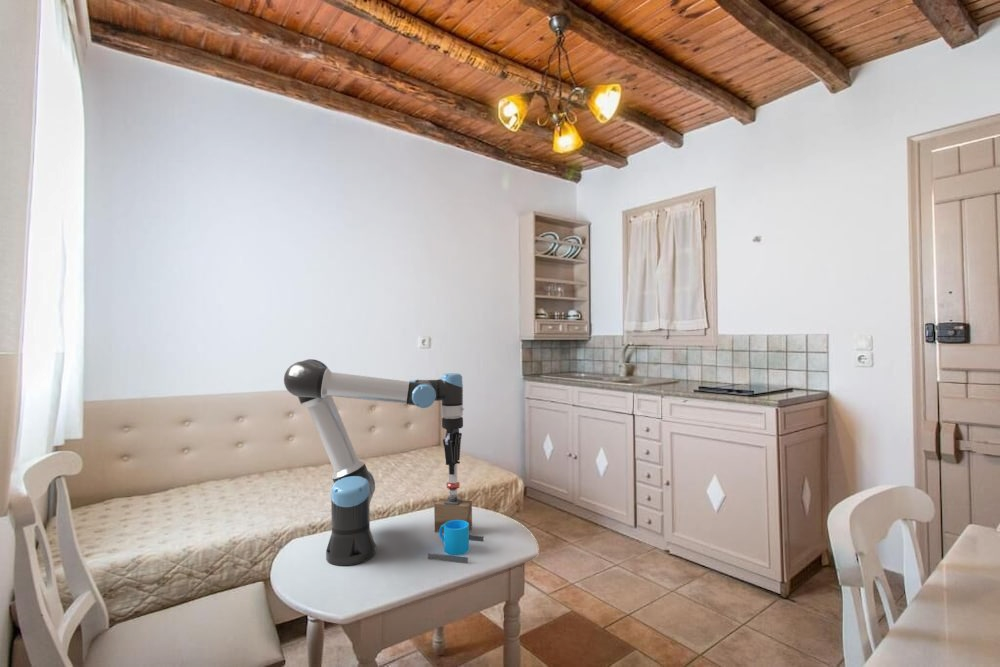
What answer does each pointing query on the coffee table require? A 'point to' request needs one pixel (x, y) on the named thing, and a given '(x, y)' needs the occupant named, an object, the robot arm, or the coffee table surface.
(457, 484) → the red rounded piece
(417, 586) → the coffee table surface
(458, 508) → the end cabinet
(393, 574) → the coffee table surface
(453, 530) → the mug
